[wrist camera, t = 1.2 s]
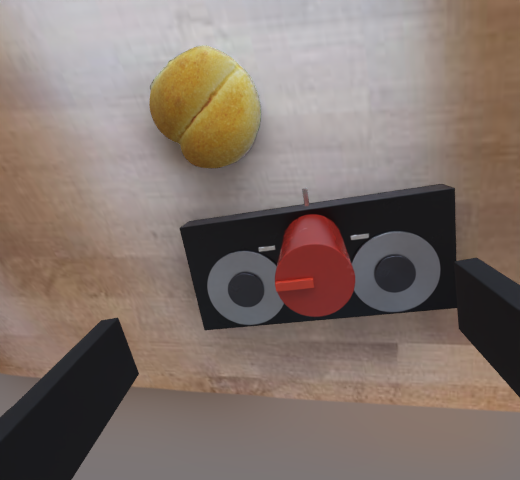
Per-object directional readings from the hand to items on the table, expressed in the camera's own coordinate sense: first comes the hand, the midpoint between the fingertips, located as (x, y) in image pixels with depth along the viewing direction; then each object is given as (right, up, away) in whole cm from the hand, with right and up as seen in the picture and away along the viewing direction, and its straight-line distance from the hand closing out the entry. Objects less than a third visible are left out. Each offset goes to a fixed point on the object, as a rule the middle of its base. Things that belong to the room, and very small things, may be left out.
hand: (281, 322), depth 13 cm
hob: (+4, +2, +18) cm, 18 cm away
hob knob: (+3, +3, +15) cm, 16 cm away
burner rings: (+4, 0, +16) cm, 16 cm away
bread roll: (-5, +14, +16) cm, 22 cm away
